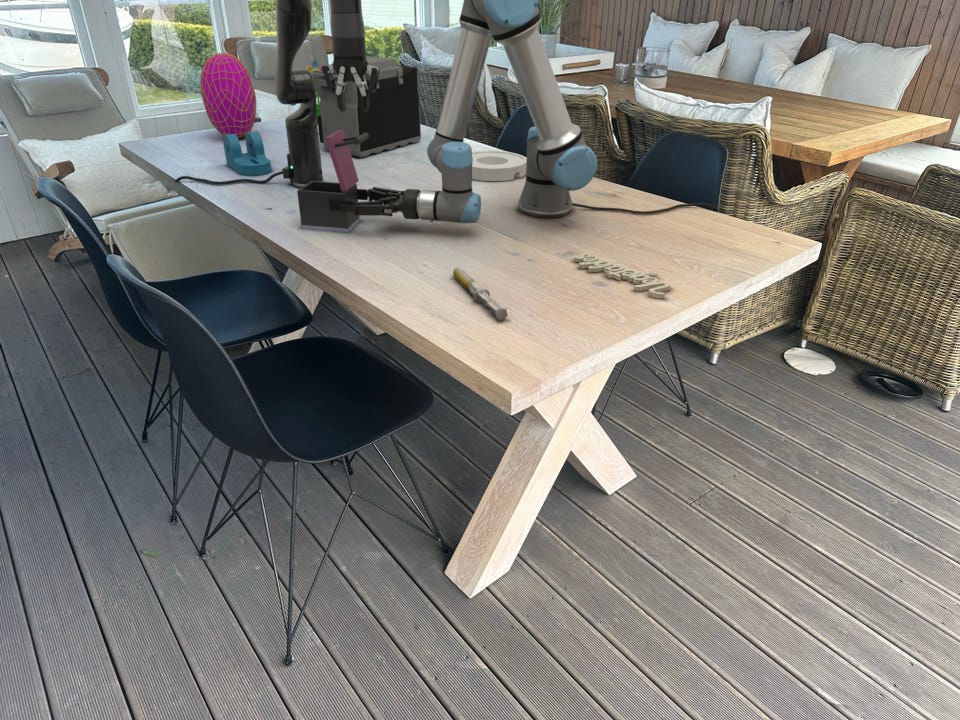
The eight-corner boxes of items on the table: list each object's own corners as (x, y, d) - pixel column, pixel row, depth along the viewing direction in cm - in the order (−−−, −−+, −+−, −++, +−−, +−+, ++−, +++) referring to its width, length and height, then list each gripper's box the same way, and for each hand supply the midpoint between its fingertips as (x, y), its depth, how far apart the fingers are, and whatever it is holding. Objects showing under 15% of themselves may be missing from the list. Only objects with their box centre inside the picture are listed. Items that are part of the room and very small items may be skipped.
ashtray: (459, 161, 239) (459, 150, 237) (525, 163, 239) (526, 151, 237) (455, 180, 219) (455, 167, 217) (527, 181, 219) (528, 169, 217)
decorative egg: (226, 145, 255) (211, 58, 240) (200, 137, 266) (184, 53, 251) (271, 137, 268) (259, 54, 252) (244, 129, 279) (231, 49, 263)
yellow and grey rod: (449, 274, 155) (449, 263, 153) (465, 272, 156) (464, 260, 154) (490, 323, 135) (491, 310, 133) (508, 319, 136) (508, 307, 134)
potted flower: (313, 124, 288) (306, 60, 276) (308, 121, 294) (300, 58, 282) (334, 122, 292) (328, 59, 279) (329, 119, 298) (323, 57, 285)
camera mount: (227, 164, 233) (221, 132, 227) (257, 160, 238) (252, 129, 233) (244, 176, 220) (239, 143, 215) (276, 172, 225) (271, 139, 220)
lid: (324, 138, 167) (354, 131, 164) (338, 130, 174) (367, 124, 172) (341, 191, 173) (370, 186, 171) (354, 181, 180) (382, 176, 178)
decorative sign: (686, 282, 150) (660, 295, 144) (686, 286, 150) (659, 300, 144) (592, 249, 166) (565, 259, 160) (592, 253, 167) (565, 263, 161)
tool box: (383, 133, 276) (378, 52, 261) (425, 141, 265) (422, 56, 250) (314, 150, 251) (304, 61, 235) (358, 160, 240) (350, 67, 224)
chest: (301, 228, 180) (296, 190, 175) (315, 217, 188) (311, 180, 183) (347, 232, 178) (344, 194, 173) (359, 220, 186) (356, 183, 181)
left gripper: (312, 34, 156) (320, 113, 165) (372, 36, 154) (377, 116, 162) (324, 31, 162) (331, 107, 171) (382, 33, 160) (387, 110, 169)
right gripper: (408, 233, 168) (322, 226, 172) (431, 205, 186) (352, 200, 190) (407, 203, 164) (318, 197, 168) (430, 178, 183) (350, 173, 186)
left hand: (354, 111), depth 167 cm, fingers open, 5 cm apart
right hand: (336, 198), depth 179 cm, fingers closed on chest, 9 cm apart
